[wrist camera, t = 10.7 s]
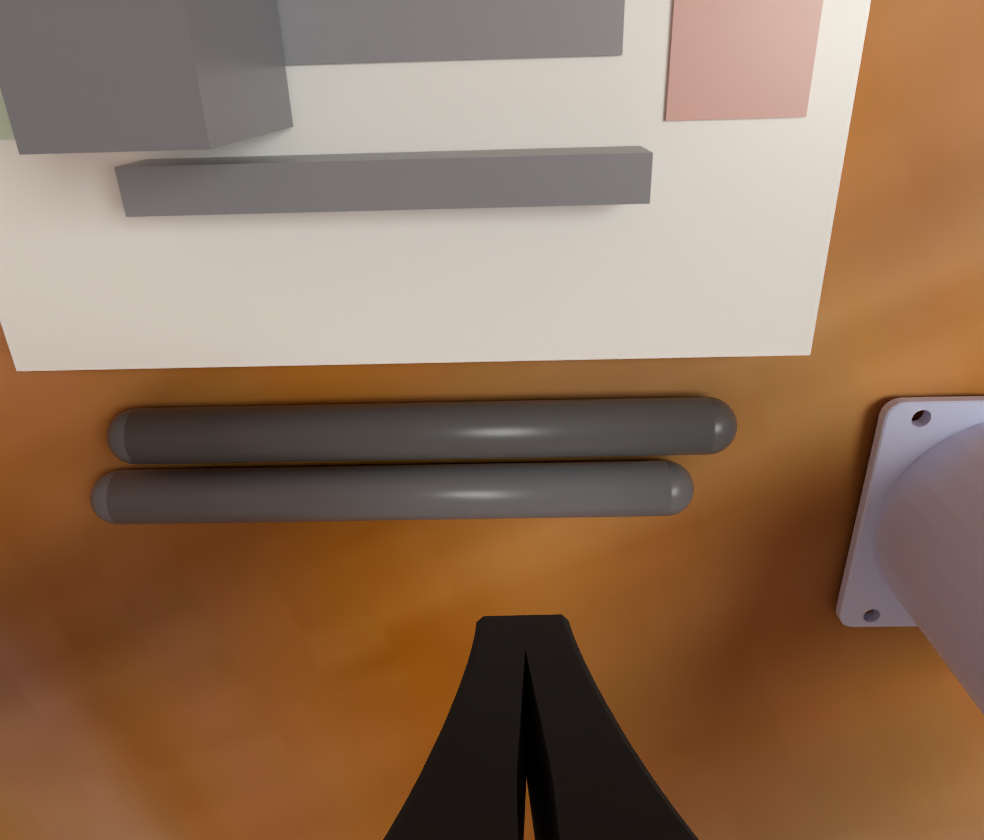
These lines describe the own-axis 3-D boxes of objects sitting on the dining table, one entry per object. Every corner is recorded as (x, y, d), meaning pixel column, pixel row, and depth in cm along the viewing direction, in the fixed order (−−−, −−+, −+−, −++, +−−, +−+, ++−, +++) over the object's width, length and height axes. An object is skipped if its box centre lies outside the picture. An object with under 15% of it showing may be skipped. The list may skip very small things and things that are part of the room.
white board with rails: (912, -528, 13) (1043, -719, 10) (757, 495, 22) (799, 566, 19) (-186, -476, 14) (-394, -641, 10) (107, 506, 23) (44, 576, 20)
